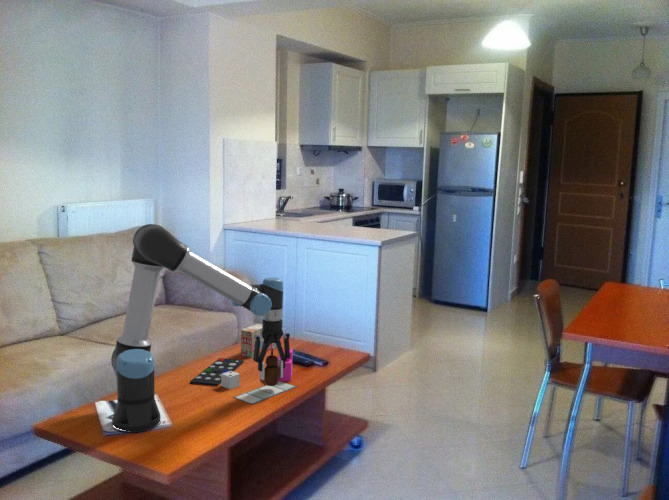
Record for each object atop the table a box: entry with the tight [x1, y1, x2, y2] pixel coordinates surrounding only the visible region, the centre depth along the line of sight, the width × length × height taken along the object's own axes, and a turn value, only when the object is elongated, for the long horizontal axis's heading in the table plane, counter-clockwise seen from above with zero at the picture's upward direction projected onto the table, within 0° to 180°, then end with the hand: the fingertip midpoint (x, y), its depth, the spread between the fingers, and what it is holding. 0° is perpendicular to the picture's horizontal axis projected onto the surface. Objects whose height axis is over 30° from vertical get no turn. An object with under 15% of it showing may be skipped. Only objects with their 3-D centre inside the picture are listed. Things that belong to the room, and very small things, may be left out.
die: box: [220, 371, 241, 390], centre depth 242 cm, size 5×5×5 cm
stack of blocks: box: [240, 323, 277, 359], centre depth 287 cm, size 21×6×12 cm, turn 150°
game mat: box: [232, 381, 297, 406], centre depth 237 cm, size 24×10×1 cm, turn 142°
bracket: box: [260, 348, 294, 382], centre depth 254 cm, size 12×10×10 cm
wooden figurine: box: [263, 348, 280, 386], centre depth 238 cm, size 7×6×15 cm
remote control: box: [189, 357, 245, 387], centre depth 257 cm, size 11×30×2 cm, turn 169°
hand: (271, 377), depth 238 cm, fingers closed on wooden figurine, 7 cm apart
